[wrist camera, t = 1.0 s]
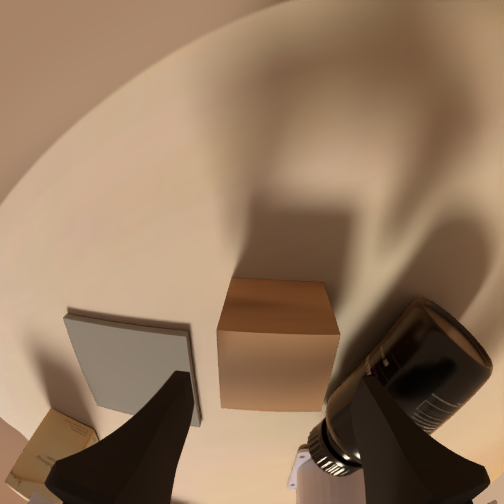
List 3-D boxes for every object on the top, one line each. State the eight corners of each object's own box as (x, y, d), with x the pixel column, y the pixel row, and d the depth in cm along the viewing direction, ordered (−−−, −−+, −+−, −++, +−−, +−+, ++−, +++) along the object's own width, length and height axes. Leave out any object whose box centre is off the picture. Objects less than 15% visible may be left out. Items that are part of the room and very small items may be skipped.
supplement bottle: (398, 286, 13) (276, 424, 17) (490, 379, 8) (324, 505, 12) (436, 299, 17) (337, 410, 21) (500, 363, 12) (379, 471, 16)
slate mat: (201, 421, 21) (199, 427, 20) (100, 401, 21) (97, 405, 21) (188, 331, 18) (186, 336, 17) (67, 313, 18) (63, 317, 17)
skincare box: (95, 428, 24) (53, 515, 12) (102, 447, 25) (67, 525, 14) (49, 406, 23) (2, 481, 12) (58, 426, 25) (19, 496, 14)
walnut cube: (311, 351, 18) (320, 411, 13) (232, 348, 18) (221, 407, 13) (322, 281, 16) (340, 334, 11) (231, 277, 16) (216, 329, 12)
